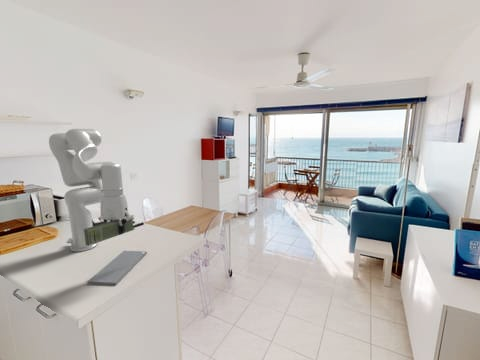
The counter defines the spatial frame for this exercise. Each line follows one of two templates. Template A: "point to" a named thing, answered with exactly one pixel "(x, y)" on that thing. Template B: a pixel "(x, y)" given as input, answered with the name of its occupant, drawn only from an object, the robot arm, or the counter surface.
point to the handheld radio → (107, 230)
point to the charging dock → (117, 268)
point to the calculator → (97, 221)
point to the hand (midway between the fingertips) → (117, 232)
